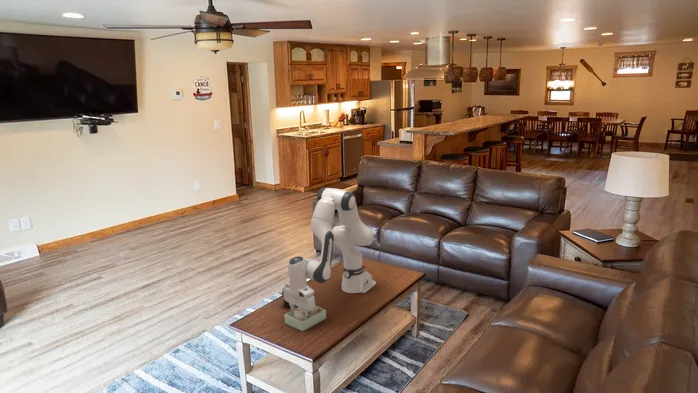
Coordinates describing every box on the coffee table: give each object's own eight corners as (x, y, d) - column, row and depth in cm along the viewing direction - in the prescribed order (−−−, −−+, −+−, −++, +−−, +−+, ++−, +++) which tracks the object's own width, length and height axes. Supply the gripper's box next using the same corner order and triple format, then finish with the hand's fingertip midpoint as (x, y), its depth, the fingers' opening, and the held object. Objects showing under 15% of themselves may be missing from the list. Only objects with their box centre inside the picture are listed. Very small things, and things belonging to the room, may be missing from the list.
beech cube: (305, 317, 253) (304, 308, 252) (311, 313, 257) (311, 305, 255) (311, 319, 250) (311, 311, 249) (318, 316, 253) (318, 307, 252)
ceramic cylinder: (293, 323, 247) (292, 310, 245) (300, 319, 250) (299, 307, 249) (299, 326, 244) (299, 313, 242) (306, 322, 247) (306, 310, 246)
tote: (308, 311, 261) (308, 302, 259) (326, 318, 252) (325, 309, 251) (284, 323, 248) (284, 314, 247) (302, 331, 240) (301, 322, 238)
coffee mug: (283, 310, 263) (282, 293, 260) (282, 303, 271) (281, 286, 269) (304, 307, 265) (303, 291, 262) (302, 300, 273) (301, 284, 271)
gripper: (279, 285, 247) (281, 309, 251) (307, 296, 234) (308, 321, 237) (289, 281, 252) (290, 304, 255) (316, 291, 239) (317, 316, 242)
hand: (299, 313), depth 246 cm, fingers open, 8 cm apart
